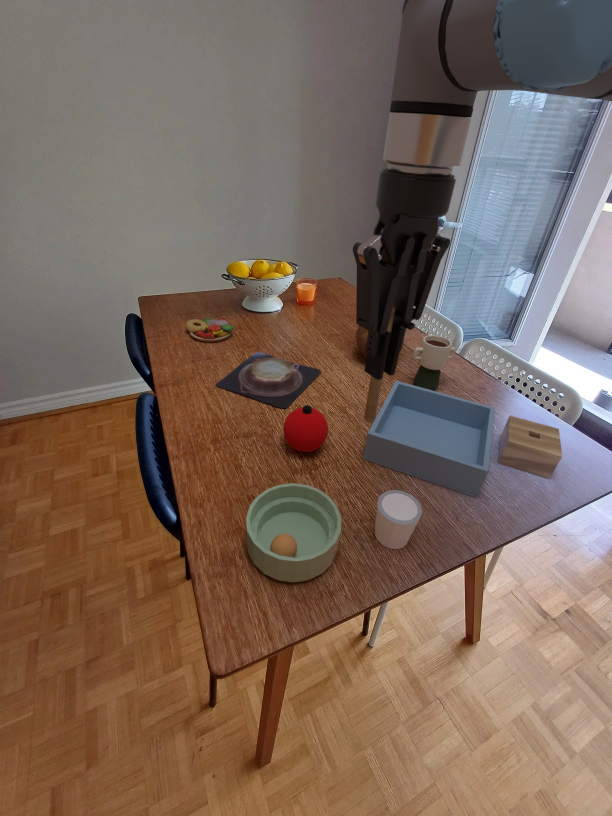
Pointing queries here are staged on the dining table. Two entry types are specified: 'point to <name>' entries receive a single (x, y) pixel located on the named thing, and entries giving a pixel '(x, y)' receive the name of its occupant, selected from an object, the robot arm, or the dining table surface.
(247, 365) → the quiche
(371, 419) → the stirring stick
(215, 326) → the toy food set
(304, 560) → the bowl
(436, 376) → the character mug
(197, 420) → the dining table surface
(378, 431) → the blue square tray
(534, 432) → the utensil block
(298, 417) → the ornament
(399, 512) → the white cup
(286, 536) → the dough ball
